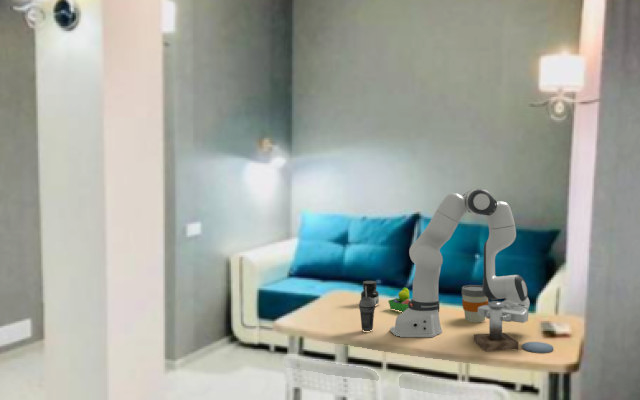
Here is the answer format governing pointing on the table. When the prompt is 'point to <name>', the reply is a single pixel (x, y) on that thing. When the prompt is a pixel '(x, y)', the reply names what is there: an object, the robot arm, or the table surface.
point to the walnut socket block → (495, 342)
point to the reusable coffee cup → (473, 302)
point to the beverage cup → (367, 312)
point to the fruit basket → (400, 301)
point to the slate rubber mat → (537, 347)
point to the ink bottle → (370, 291)
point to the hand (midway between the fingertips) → (495, 317)
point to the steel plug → (495, 319)
